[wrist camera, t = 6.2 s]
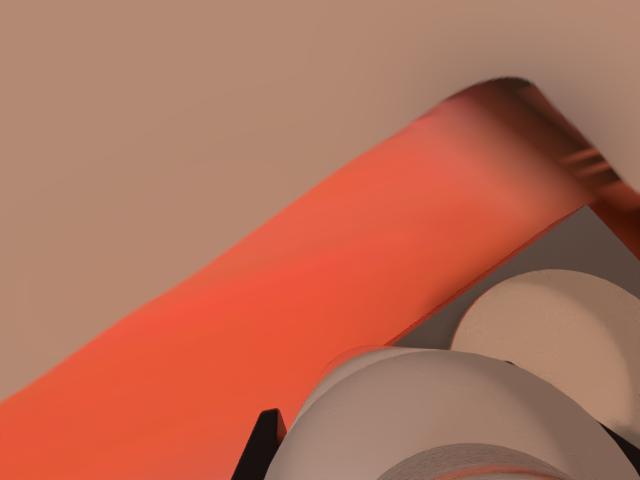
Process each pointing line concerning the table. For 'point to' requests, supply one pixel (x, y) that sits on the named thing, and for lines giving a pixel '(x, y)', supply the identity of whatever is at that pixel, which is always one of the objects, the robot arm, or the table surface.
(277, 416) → the robot arm
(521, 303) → the bench scale
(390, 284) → the table surface
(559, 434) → the steel weight
